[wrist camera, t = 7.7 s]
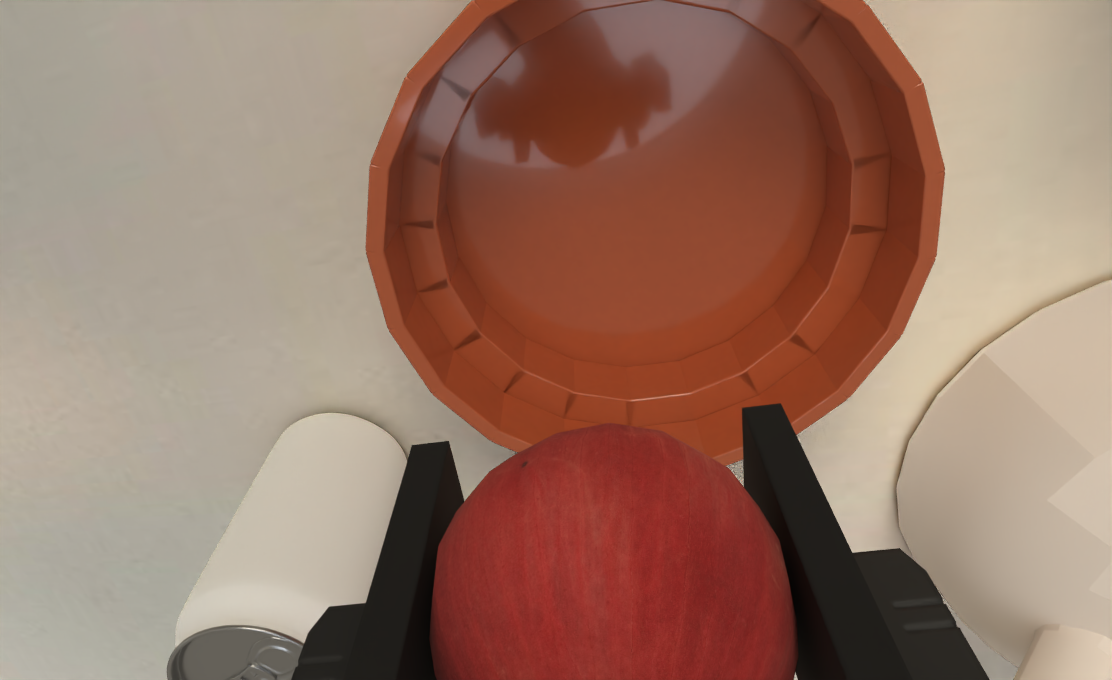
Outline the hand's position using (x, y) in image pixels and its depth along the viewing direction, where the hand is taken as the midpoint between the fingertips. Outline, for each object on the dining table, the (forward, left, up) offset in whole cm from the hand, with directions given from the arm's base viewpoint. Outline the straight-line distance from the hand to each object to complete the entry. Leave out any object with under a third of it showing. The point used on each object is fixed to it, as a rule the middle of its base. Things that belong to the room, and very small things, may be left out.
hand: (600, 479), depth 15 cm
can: (+10, -13, -16) cm, 23 cm away
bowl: (-1, +2, -16) cm, 16 cm away
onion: (0, 0, -1) cm, 1 cm away
